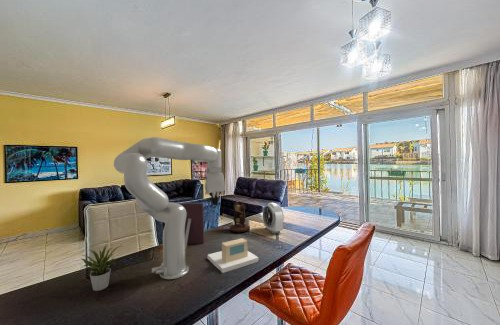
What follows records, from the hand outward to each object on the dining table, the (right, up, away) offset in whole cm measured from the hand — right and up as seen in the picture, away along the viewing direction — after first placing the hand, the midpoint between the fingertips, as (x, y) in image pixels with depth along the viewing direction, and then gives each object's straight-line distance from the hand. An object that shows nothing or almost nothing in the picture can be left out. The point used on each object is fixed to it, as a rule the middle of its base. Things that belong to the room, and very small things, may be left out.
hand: (215, 204), depth 120 cm
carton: (+10, -21, -8) cm, 25 cm away
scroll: (+12, -27, +40) cm, 49 cm away
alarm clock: (+36, -27, +37) cm, 58 cm away
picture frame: (-18, -28, +12) cm, 35 cm away
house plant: (-41, -28, -29) cm, 58 cm away
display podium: (+10, -27, -8) cm, 30 cm away
